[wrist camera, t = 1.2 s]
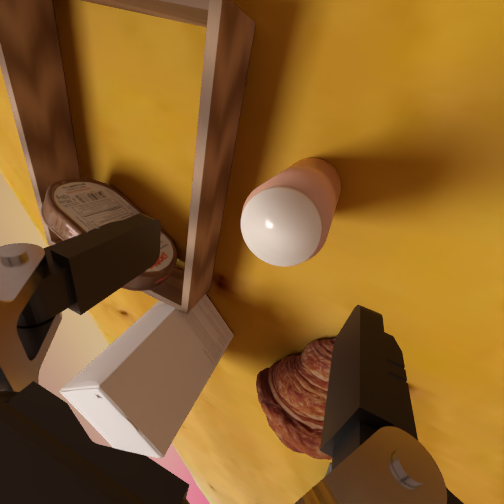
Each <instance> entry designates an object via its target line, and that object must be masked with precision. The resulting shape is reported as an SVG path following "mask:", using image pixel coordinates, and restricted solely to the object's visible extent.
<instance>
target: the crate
mask: <svg viewBox="0 0 504 504" xmlns="http://www.w3.org/2000/svg"><path fill="white" fill-rule="evenodd" d="M82 1H87V2H91V3H96V4H101V5H105V6H110V7H115V8H119V9H124V10H129V11H133V12H138V13H143V14H147V15H152V16H157V17H161V18H166V19H171V20H175V21H180V22H184V23H189V24H194V25H198V26H203V27H207V31H206V42H205V53H204V64H203V75H202V86H201V97H200V108H199V119H198V130H197V141H196V151H195V162H194V173H193V184H192V195H191V206H190V217H189V228H188V239H187V250H186V261H185V272H184V271H182V270H180V269H178V268H175V267H174V268H173V270H172V271H171V273H170V274H169V277H168V278H167V280H166V281H165V282H164V283H163V284H162V285H160V286H158V287H156V288H154V289H151V290H146V291H142V292H144V293H146V294H148V295H150V296H152V297H154V298H156V299H158V300H160V301H162V302H164V303H166V304H168V305H170V306H172V307H174V308H176V309H178V310H180V311H182V312H184V313H186V314H188V313H189V311H190V310H191V309H192V308H193V307H194V306H195V305H196V304H197V303H198V302H199V300H200V299H201V298H202V297H203V296H204V295H205V294H206V293H207V292H208V291H209V289H210V287H211V281H212V275H213V269H214V264H215V258H216V252H217V246H218V240H219V234H220V229H221V223H222V217H223V211H224V205H225V199H226V194H227V188H228V182H229V176H230V170H231V164H232V158H233V153H234V147H235V141H236V135H237V129H238V123H239V118H240V112H241V106H242V100H243V94H244V88H245V83H246V77H247V71H248V65H249V59H250V53H251V48H252V42H253V36H254V30H255V24H256V23H255V22H254V21H253V20H252V19H251V18H250V17H249V16H248V15H247V14H245V13H244V12H243V11H242V10H241V9H240V8H239V7H238V6H237V5H236V4H235V3H233V2H232V1H231V0H82ZM0 66H1V70H2V74H3V78H4V81H5V85H6V89H7V92H8V96H9V100H10V104H11V107H12V111H13V115H14V118H15V122H16V126H17V130H18V133H19V137H20V141H21V144H22V148H23V152H24V156H25V159H26V163H27V167H28V171H29V174H30V178H31V182H32V185H33V189H34V193H35V197H36V200H37V204H38V208H39V211H40V215H41V207H42V204H43V203H44V199H45V195H46V192H47V190H48V188H49V187H50V185H52V184H53V183H54V182H57V181H61V180H65V179H78V178H80V172H79V166H78V160H77V153H76V147H75V141H74V134H73V128H72V122H71V115H70V109H69V103H68V96H67V90H66V84H65V77H64V71H63V65H62V58H61V52H60V46H59V39H58V33H57V27H56V21H55V14H54V8H53V2H52V0H0ZM41 219H42V223H43V226H44V230H45V234H46V238H47V241H48V244H49V245H54V244H56V243H59V242H61V241H63V240H62V239H61V238H59V237H58V236H57V235H56V234H55V233H54V232H53V231H52V230H51V229H50V228H49V227H48V226H47V225H46V224H45V222H44V221H43V218H42V215H41Z"/></svg>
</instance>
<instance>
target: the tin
mask: <svg viewBox="0 0 504 504" xmlns="http://www.w3.org/2000/svg"><path fill="white" fill-rule="evenodd" d="M139 213H142V214H144V213H143V212H142V211H140V210H139V209H138V208H137V207H136V206H135V205H134V204H133V203H132V202H131V201H130V200H128V199H127V198H126V197H125V196H124V195H123V194H122V193H120V192H119V191H118V190H116V189H114V188H113V187H111V186H109V185H107V184H104V183H102V182H99V181H96V180H91V179H86V178H78V179H65V180H61V181H57V182H54V183H53V184H52V185H50V187H49V188H48V190H47V192H46V195H45V199H44V203H43V204H42V207H41V215H42V218H43V221H44V222H45V224H46V225H47V226H48V227H49V228H50V229H51V230H52V231H53V232H54V233H55V234H56V235H57V236H58V237H59V238H61V239H62V240H63V241H64V240H67V239H69V238H72V237H74V236H77V235H79V234H82V233H84V232H86V233H87V232H88V231H89V230H92V229H94V228H97V229H98V227H100V226H102V225H105V224H107V223H110V222H114V221H120V220H124V219H126V218H129V217H131V216H134V215H136V214H139ZM176 261H177V251H176V248H175V245H174V243H173V242H172V240H171V239H170V238H169V236H168V235H167V234H166V233H164V232H163V231H162V230H161V237H160V255H159V258H158V260H157V262H156V263H155V264H154V265H153V266H152V267H150V268H149V269H147V270H146V271H145V272H143V273H142V274H140V275H139V276H137V277H136V278H134V279H133V280H131V281H130V282H128V283H127V284H126V285H124V286H123V287H121V288H124V289H127V290H133V291H146V290H151V289H154V288H156V287H158V286H160V285H162V284H163V283H164V282H165V281H166V280H167V278H168V277H169V274H170V273H171V271H172V270H173V268H174V266H175V264H176Z"/></svg>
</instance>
